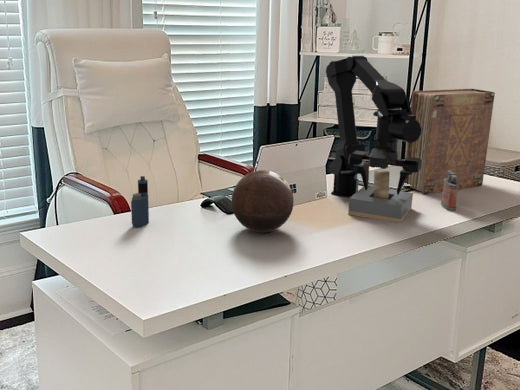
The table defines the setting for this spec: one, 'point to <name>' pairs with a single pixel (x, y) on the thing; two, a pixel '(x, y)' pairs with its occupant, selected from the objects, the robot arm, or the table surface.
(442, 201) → the lighter
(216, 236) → the table surface
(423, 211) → the table surface
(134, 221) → the vaping device
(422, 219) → the table surface
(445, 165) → the book
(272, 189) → the wooden sphere
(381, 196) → the wooden pin
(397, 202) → the grey square-holed block
